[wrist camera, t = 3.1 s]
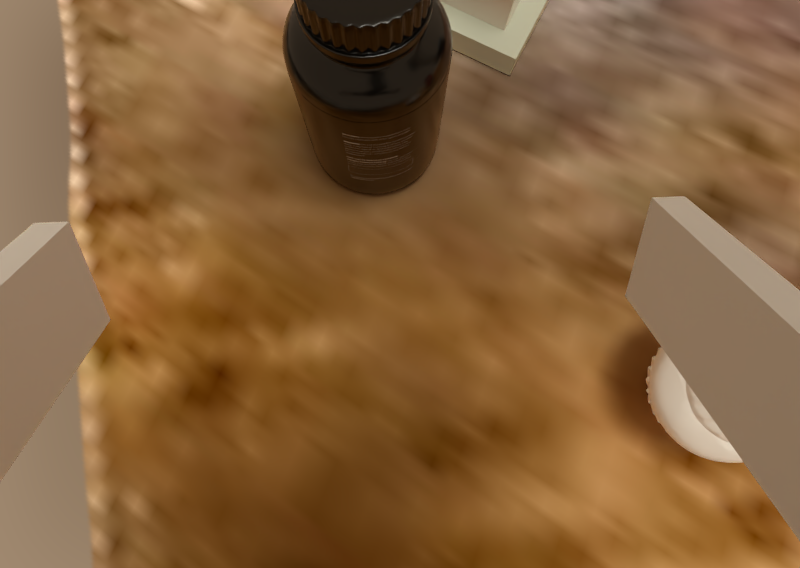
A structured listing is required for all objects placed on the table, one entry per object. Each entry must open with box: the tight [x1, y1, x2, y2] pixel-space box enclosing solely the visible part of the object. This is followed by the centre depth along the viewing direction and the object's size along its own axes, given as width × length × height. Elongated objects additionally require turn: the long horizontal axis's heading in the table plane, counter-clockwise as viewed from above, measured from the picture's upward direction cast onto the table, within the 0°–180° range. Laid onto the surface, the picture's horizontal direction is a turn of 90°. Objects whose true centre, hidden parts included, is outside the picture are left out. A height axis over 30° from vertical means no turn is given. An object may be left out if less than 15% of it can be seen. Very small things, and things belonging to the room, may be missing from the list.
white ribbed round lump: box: [646, 347, 743, 463], centre depth 23 cm, size 6×6×7 cm
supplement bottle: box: [283, 0, 452, 194], centre depth 23 cm, size 7×7×12 cm
